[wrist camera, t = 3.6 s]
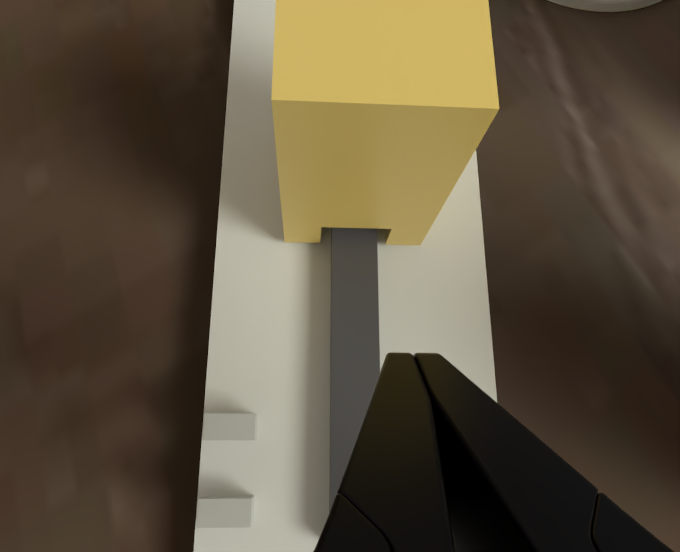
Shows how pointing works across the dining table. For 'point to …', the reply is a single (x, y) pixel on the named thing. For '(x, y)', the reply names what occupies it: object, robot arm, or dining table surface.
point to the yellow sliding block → (377, 110)
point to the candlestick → (606, 4)
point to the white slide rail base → (312, 326)
